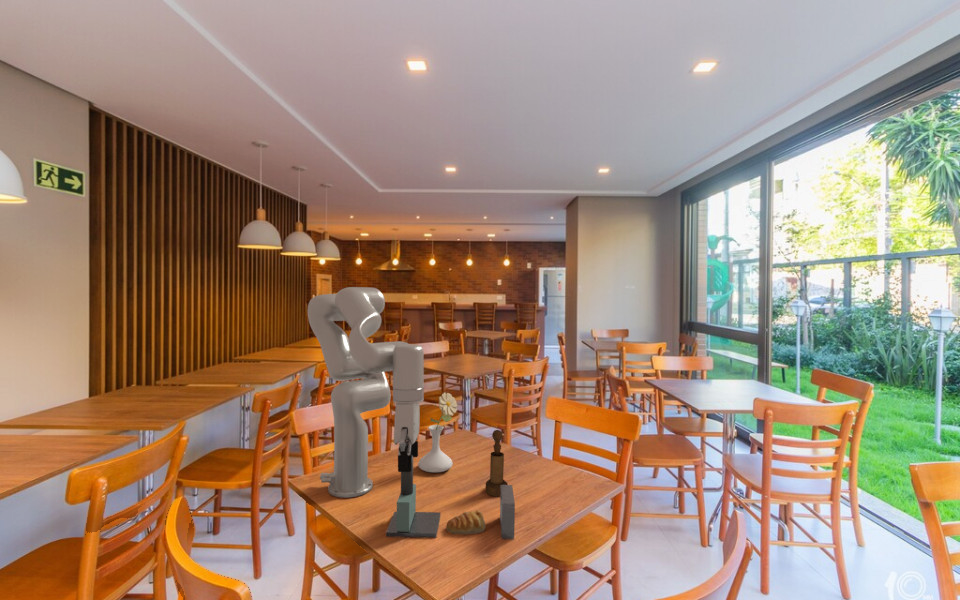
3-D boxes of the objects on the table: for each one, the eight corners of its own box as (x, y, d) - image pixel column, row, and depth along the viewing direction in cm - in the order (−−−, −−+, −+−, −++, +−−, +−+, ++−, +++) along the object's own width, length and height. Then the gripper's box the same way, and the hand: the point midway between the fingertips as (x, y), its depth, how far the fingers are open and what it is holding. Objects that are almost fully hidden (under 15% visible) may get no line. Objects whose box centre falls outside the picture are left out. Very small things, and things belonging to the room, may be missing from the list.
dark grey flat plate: (385, 536, 104) (385, 532, 104) (394, 515, 114) (394, 511, 114) (436, 537, 104) (436, 533, 104) (440, 516, 114) (440, 512, 114)
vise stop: (501, 538, 104) (502, 503, 104) (500, 517, 114) (500, 484, 114) (514, 539, 104) (514, 503, 104) (511, 517, 114) (512, 485, 114)
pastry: (450, 540, 103) (450, 523, 103) (442, 525, 110) (443, 510, 110) (487, 533, 107) (487, 517, 107) (478, 519, 113) (478, 504, 113)
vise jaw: (396, 531, 104) (397, 464, 104) (404, 510, 114) (404, 449, 114) (409, 531, 104) (409, 464, 104) (415, 510, 114) (416, 449, 114)
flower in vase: (425, 478, 137) (426, 399, 136) (412, 465, 147) (413, 391, 146) (463, 470, 143) (464, 394, 143) (448, 459, 153) (449, 388, 153)
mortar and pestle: (505, 497, 125) (506, 434, 125) (483, 495, 126) (484, 433, 126) (508, 487, 131) (509, 427, 131) (487, 485, 133) (488, 426, 132)
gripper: (399, 387, 117) (400, 451, 117) (385, 402, 100) (385, 477, 100) (428, 387, 117) (428, 451, 117) (418, 402, 100) (418, 478, 100)
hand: (408, 463), depth 108 cm, fingers open, 9 cm apart
